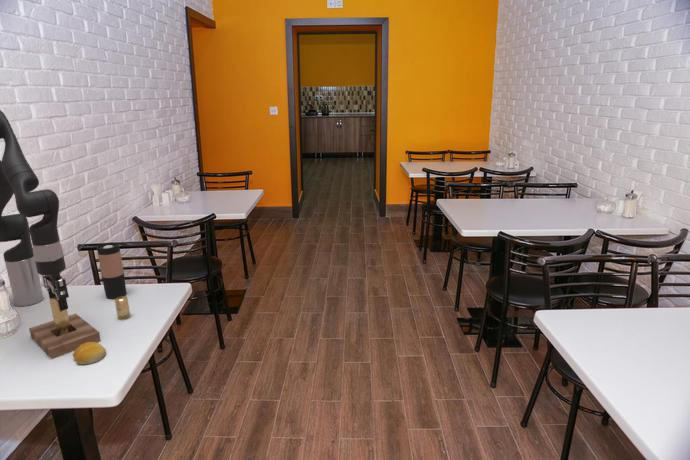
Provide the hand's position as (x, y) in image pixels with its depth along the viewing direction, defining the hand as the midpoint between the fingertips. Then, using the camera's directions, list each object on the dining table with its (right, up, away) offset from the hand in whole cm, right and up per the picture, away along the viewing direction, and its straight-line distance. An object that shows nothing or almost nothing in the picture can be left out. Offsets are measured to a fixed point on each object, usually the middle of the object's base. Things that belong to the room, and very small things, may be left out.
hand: (59, 305), depth 153 cm
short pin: (+13, -7, +17) cm, 22 cm away
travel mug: (+2, -2, +35) cm, 35 cm away
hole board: (0, -11, +3) cm, 11 cm away
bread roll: (+14, -14, -8) cm, 21 cm away
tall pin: (0, -11, +3) cm, 11 cm away
